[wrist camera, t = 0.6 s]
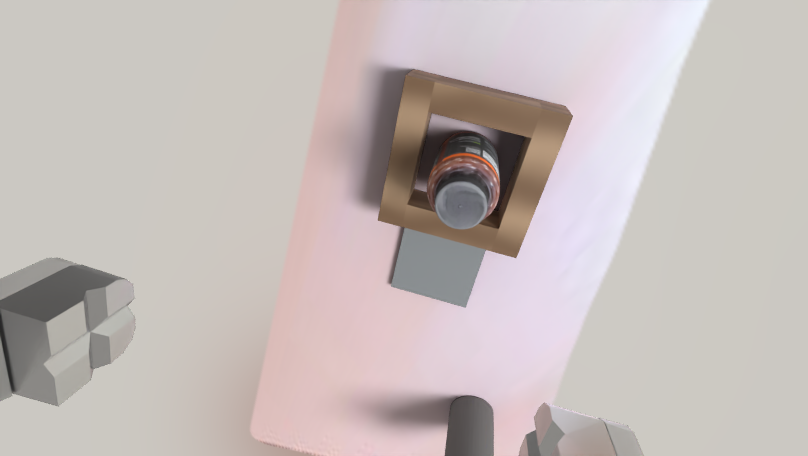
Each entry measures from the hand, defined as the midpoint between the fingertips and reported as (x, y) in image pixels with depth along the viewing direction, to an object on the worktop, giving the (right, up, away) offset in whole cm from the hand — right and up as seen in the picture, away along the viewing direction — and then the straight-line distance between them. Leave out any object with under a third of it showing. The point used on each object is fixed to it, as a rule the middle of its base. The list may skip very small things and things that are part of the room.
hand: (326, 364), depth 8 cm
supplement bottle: (+8, +9, +33) cm, 35 cm away
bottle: (+11, -22, +49) cm, 55 cm away
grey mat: (+5, -1, +39) cm, 40 cm away
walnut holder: (+8, +9, +33) cm, 35 cm away
